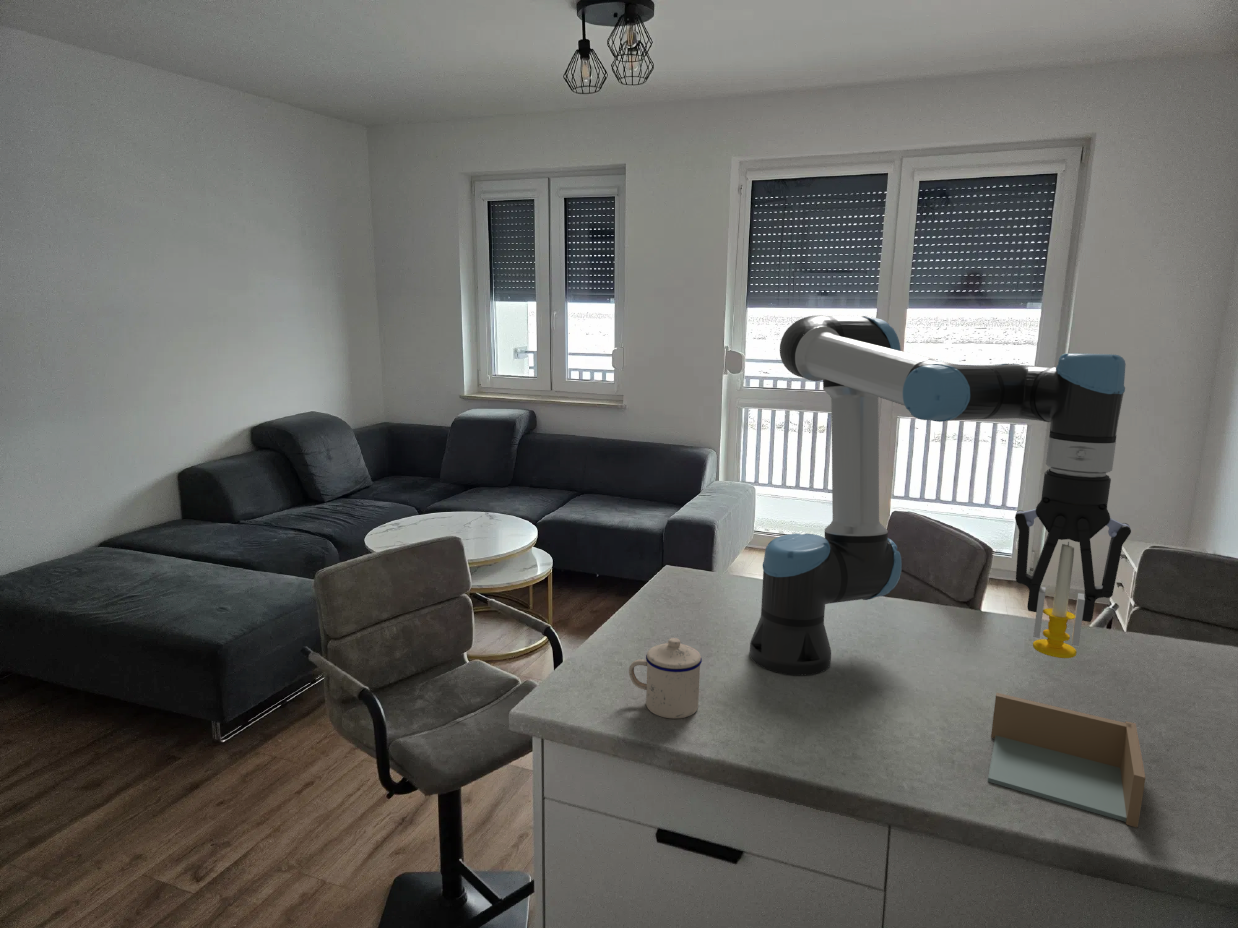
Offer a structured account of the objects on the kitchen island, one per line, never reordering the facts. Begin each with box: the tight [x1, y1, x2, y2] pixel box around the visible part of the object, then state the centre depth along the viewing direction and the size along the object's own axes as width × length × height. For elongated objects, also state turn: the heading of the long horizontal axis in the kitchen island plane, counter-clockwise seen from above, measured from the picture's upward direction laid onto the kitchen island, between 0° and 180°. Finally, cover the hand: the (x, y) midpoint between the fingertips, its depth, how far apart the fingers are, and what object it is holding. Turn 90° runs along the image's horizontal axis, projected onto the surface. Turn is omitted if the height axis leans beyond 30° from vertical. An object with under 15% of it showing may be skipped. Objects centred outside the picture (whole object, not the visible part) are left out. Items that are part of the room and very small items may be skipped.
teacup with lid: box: [628, 637, 703, 719], centre depth 121 cm, size 12×9×12 cm
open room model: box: [987, 692, 1146, 828], centre depth 104 cm, size 18×15×7 cm
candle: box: [1032, 541, 1077, 659], centre depth 100 cm, size 5×5×16 cm
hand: (1055, 637), depth 101 cm, fingers closed on candle, 4 cm apart
